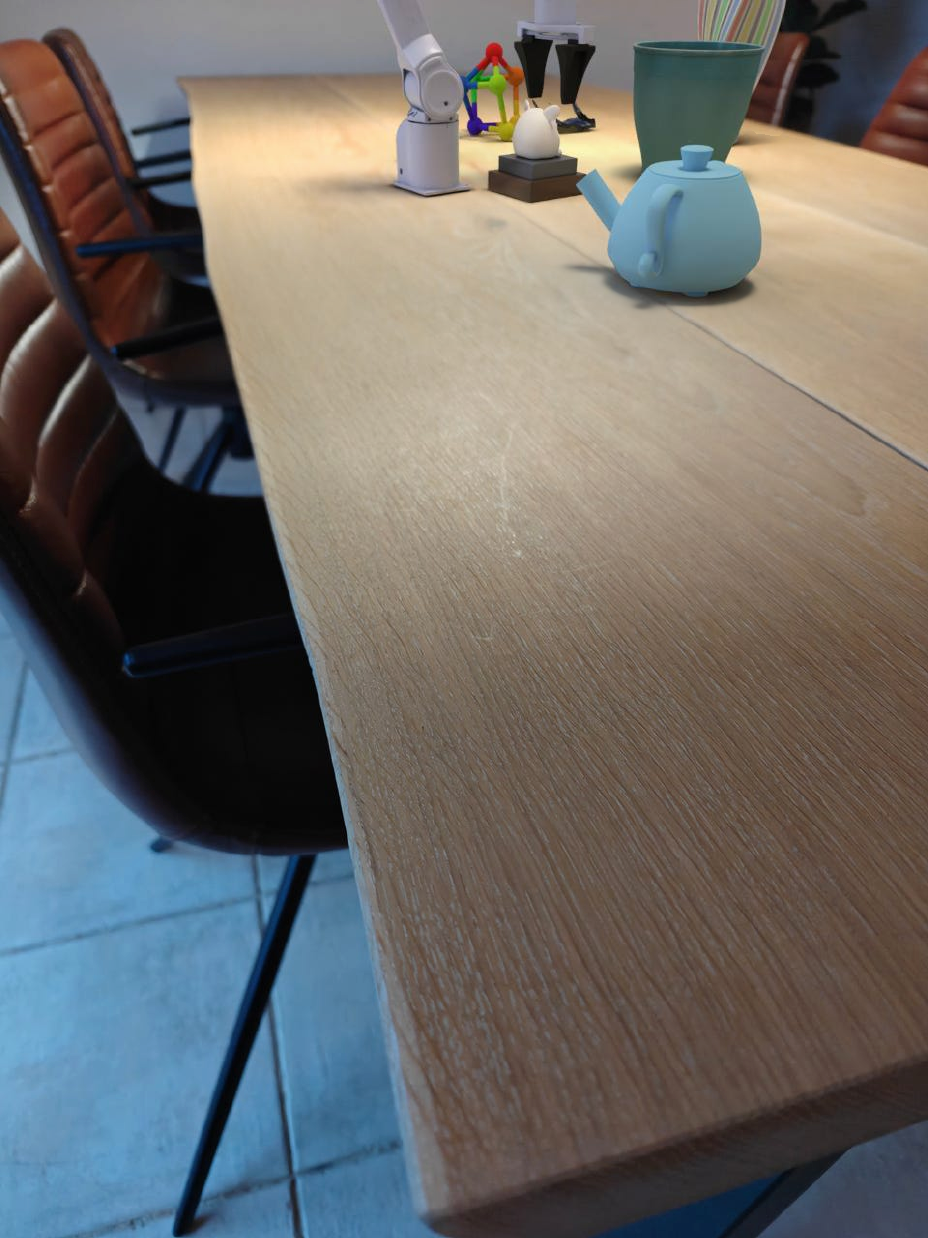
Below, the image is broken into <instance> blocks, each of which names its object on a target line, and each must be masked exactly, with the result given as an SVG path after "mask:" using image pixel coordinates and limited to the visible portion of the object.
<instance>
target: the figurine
mask: <svg viewBox="0 0 928 1238" xmlns="http://www.w3.org/2000/svg"><path fill="white" fill-rule="evenodd" d="M523 106H524V107H523V109H524V112H523V113H522V114H521V115H519V116H520V118H519V119H518V121H517V123H516V126H515V129H514V132H513V138H512V147H513V151H514V153H515V154H516V155H518V156H521V157H524V158H529V159H545V158H551V157H555V156H557V157H558V156H560V155H561V154H563V150H562V149H561V148H560V145H561V138H560V134H559V131H558V127H557V123H556V118H557V119H558V117H559V115H560V112H561V108H560V106H558V105H557V104H553V105H550V106H548V107H547V108H545V109H543V108H540V107H539V108H535V107H533V108H530V103H529V100H528V99H525V100H524V102H523Z"/></svg>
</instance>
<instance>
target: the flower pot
mask: <svg viewBox="0 0 928 1238" xmlns="http://www.w3.org/2000/svg"><path fill="white" fill-rule="evenodd" d="M632 47H633V48H632V49H633V51H634V52H633V53H634V55H633V56H634V57H633V95H632V96H633V100H632V101H633V104H632V107H633V118H634V119H633V121H634V127H635V131H636V137H637V143H638V147H639V153H640V161H641V166H640V174H641V175H642V174H643V173H644V171H645V170H646V169H647V168H648V167H649V166H650V165H652V164H655V163H659V162H664V161H675V160H682V156H681V148H682V147H684V146H687V145H704V146H709V147H711V148H713V149H714V150H713V153H712V156H711V158H710V160H709V161H715V160H716V161H721V162H724V163H725V164H726V161H727V158H728V157H729V154H730V152H731V150H732V148H733V145H735V143H734V142H735V140H736V138H737V135H738V133H739V134H740V132H741V130H742V127H743V125H744V122H745V119H746V117H747V114H748V110H749V107H750V103H751V99H752V96H753V94H752V92H753V87H754V83H755V79H756V75H757V73H758V69H759V65H760V60H761V56H762V53H763V52H764V49H765V47H764V46H761V45H756V44H748V43H738V42H723V41H698V40H677V39H676V40H673V39H672V40H650V41H649V40H648V41H639V42H634V43H633V46H632ZM753 93H754V92H753ZM739 131H740V132H739Z"/></svg>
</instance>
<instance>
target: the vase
mask: <svg viewBox="0 0 928 1238" xmlns="http://www.w3.org/2000/svg"><path fill="white" fill-rule="evenodd" d="M786 1H787V0H698V1H697V17H696V18H697V19H696V20H697V22H696V23H697V41H723V42H738V43H748V44H756V45H761V46H764V47H765V49H764V52H763V53H762V56H761V60H760V65H759V69H758V73H757V75H756V79H755V83H754V87H753V92H752V95H753V93H754V91H755V89H756V87H757V85H758V83H759V82H760V81H759V80H760V79H761V76H762V74H763V72H764V70H765V67H766V65H767V62H768V60H769V57H770V55H771V52H772V50H773V47H774V44H775V42H776V39H777V36H778V33H779V30H780V27H781V23H782V20H783V15H784V11H785V7H786ZM740 132H741V130H740V131H739V133H738V135H737V138H736V140H735V142H734V144H737V143H738V141H739V136H740Z"/></svg>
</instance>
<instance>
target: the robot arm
mask: <svg viewBox="0 0 928 1238" xmlns="http://www.w3.org/2000/svg"><path fill="white" fill-rule="evenodd" d="M376 1H377V4H378V7H379V9H380V11H381V14H382V16H383V18H384V21H385V24H386V26H387V29H388V30H389V34H390V36H391V38H392V40H393V43H394V46H395V48H396V58H397V64H398V67H399V69H400V72H401V77H402V79H401V80H402V82H401V83H402V84H401V85H402V94H403V97H404V100H406V102H407V103H408V104H409V106H410V107H409V109H408V110H407V112H406V118H405V119H403V120H402V121H401V123H399V125H398V128H397V131H396V135H395V144H396V145H395V146H396V148H395V149H396V170H397V180H393V181H392V185H393V186H397V187H398V188H402V189H405V190H408V191H410V192H414V193H417V194H419V195H422V196H425V197H427V196H434V195H441V194H447V193H453V192H460V191H467V190H472V185H471V184H468V183H465V182H463V181H462V182H461V181H460V126H459V125H460V119H459V118H460V115H459V113H458V111H459V110H460V108H461V106H462V104H463V97H464V88H463V83H462V80H461V78H460V76H461V75H460V74H459V73H458V72H457V71H456V70H455V69H454V68H453V67H451V65H450V64H449V63H448V61H447V59H446V55H445V53H444V51H443V49H442V47H441V46H440V45H439V43H438V42H437V40H436V38H435V37H434V35H433V33H432V31H431V28H430V25H429V22H428V20H427V18H426V15H425V13H424V10H423V7H422V5H421V2H420V0H376ZM577 14H578V0H534V20H529V19H528V20H517V26H516V27H517V28H516V29H517V30H516V34H517V35H516V37H517V38H521V39H520V40H517V41H514V42H513V48H514V50H515V52H516V55H517V56H518V57H517V58H518V59H519V62H520V65H521V69H522V70H523V73H524V82H525V89H526V93H527V98H528V99H540V98H541V99H542V98H543V93H544V88H545V78H546V68H547V64H548V59H549V54H550V51H551V48H552V46H553V44H554V41H557V42H558V41H559V42H567V43H558V44H555V45H554V50H555V53H556V56H557V62H558V67H559V68H558V69H559V82H560V84H559V96H560V98H559V99H560V104H561V105H565V106H566V105H572V104H575V102H576V103H577V98H578V95H579V91H580V88H581V84H582V81H583V78H584V75H585V72H586V70H587V68H588V65H589V64H590V61H591V59H592V58H593V56H594V54H595V53H596V47H597V46H596V45H594V44H595V35H596V26H595V25H588V24H585V23H583V24H582V22H580V21H579V22H578V21H577ZM550 33H557V34H558V35H556V34H554V35H553V34H550Z"/></svg>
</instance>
